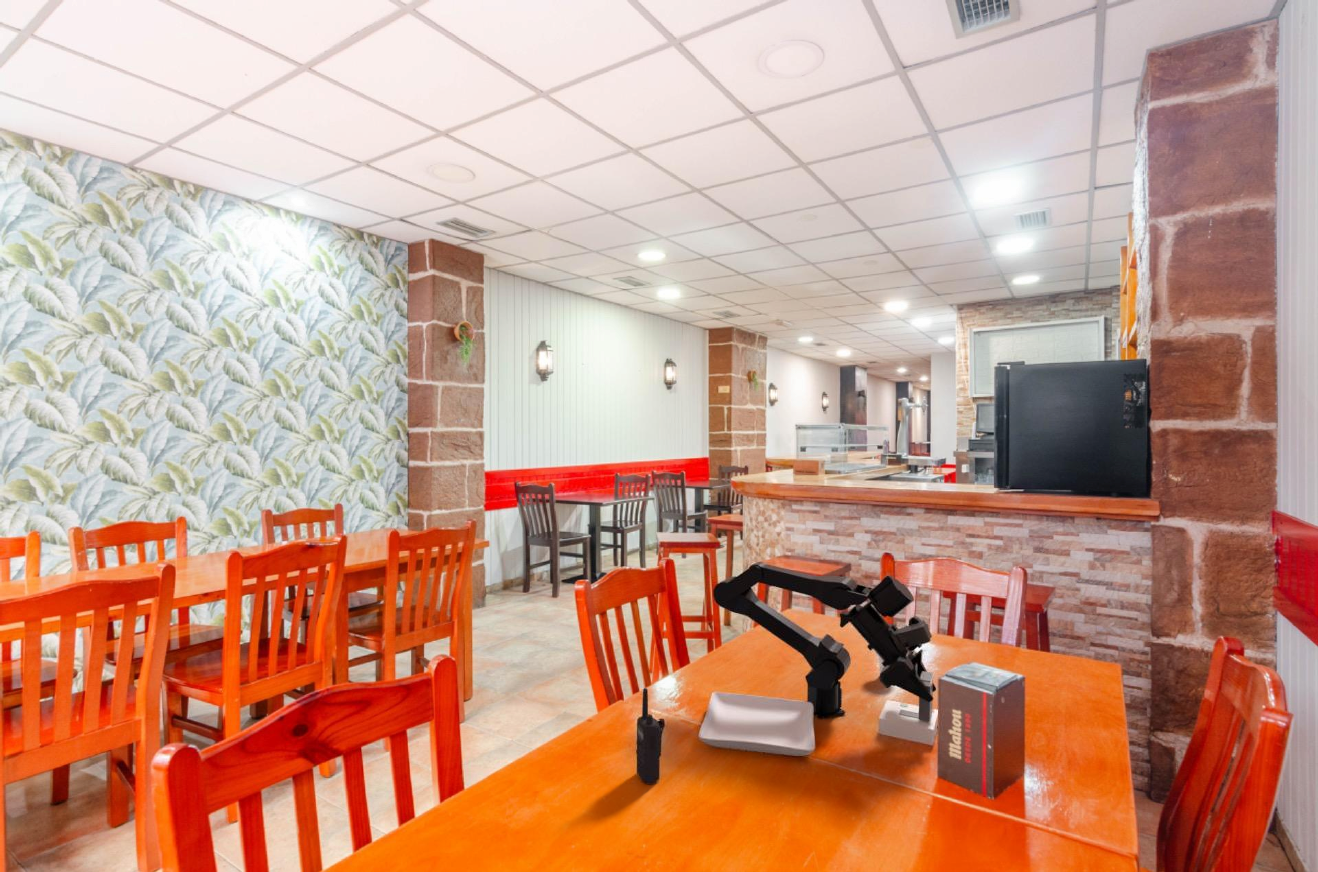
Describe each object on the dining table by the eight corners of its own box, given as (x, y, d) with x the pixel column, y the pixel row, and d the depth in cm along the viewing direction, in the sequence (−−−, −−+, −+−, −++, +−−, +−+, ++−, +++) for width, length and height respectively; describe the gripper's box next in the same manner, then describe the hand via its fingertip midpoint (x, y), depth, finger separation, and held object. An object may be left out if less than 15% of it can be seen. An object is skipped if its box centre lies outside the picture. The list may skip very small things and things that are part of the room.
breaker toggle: (918, 719, 130) (919, 679, 130) (921, 709, 135) (922, 670, 135) (929, 721, 129) (930, 681, 129) (932, 711, 134) (933, 672, 134)
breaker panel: (878, 733, 131) (878, 717, 131) (886, 713, 140) (887, 699, 140) (933, 745, 127) (933, 729, 127) (938, 724, 136) (938, 709, 136)
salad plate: (815, 767, 119) (815, 748, 119) (696, 753, 123) (697, 735, 123) (813, 716, 140) (813, 700, 140) (711, 706, 144) (712, 690, 144)
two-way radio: (633, 771, 116) (634, 685, 116) (657, 766, 118) (658, 682, 117) (644, 787, 111) (645, 697, 111) (669, 782, 113) (670, 694, 112)
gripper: (898, 618, 125) (962, 688, 120) (912, 596, 142) (968, 657, 137) (855, 653, 129) (915, 722, 124) (873, 627, 146) (926, 687, 141)
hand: (933, 695), depth 131 cm, fingers closed on breaker toggle, 5 cm apart
